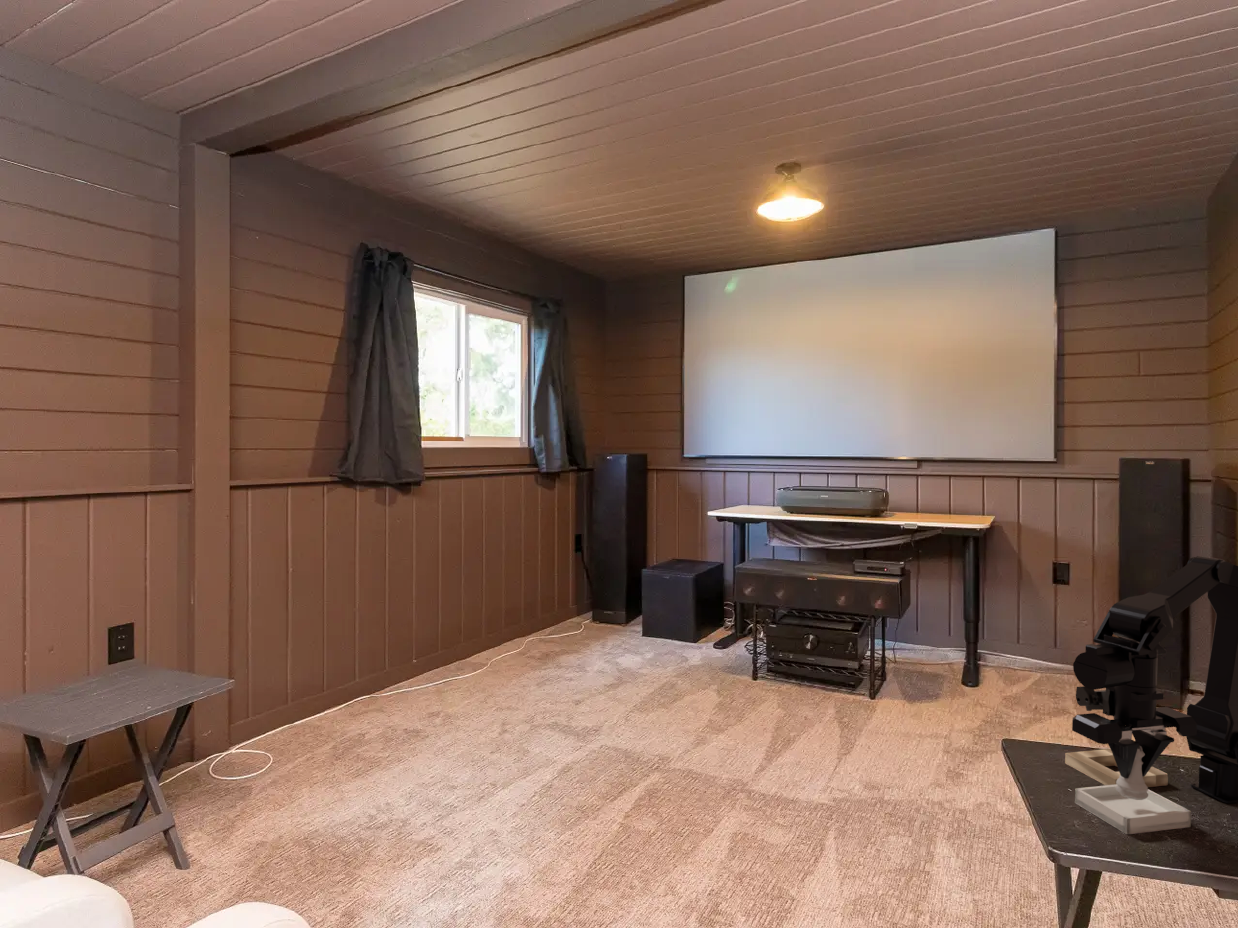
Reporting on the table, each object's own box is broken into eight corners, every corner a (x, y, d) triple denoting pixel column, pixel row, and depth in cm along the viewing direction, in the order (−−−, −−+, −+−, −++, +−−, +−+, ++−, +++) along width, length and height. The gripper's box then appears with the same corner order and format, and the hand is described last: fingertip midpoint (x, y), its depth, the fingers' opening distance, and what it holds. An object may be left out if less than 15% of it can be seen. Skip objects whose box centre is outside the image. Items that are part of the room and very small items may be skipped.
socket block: (1114, 758, 141) (1114, 748, 141) (1167, 784, 131) (1167, 773, 131) (1065, 763, 139) (1065, 752, 139) (1114, 790, 128) (1115, 779, 128)
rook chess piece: (1154, 802, 118) (1155, 752, 117) (1122, 799, 119) (1124, 750, 118) (1140, 789, 122) (1141, 741, 122) (1110, 786, 123) (1111, 739, 123)
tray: (1134, 796, 126) (1135, 782, 126) (1190, 826, 117) (1191, 811, 116) (1074, 802, 124) (1075, 788, 124) (1126, 834, 114) (1127, 818, 114)
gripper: (1139, 663, 129) (1136, 750, 130) (1047, 670, 126) (1045, 760, 126) (1200, 684, 118) (1198, 779, 119) (1102, 692, 115) (1099, 790, 115)
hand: (1132, 776), depth 120 cm, fingers closed on rook chess piece, 3 cm apart
